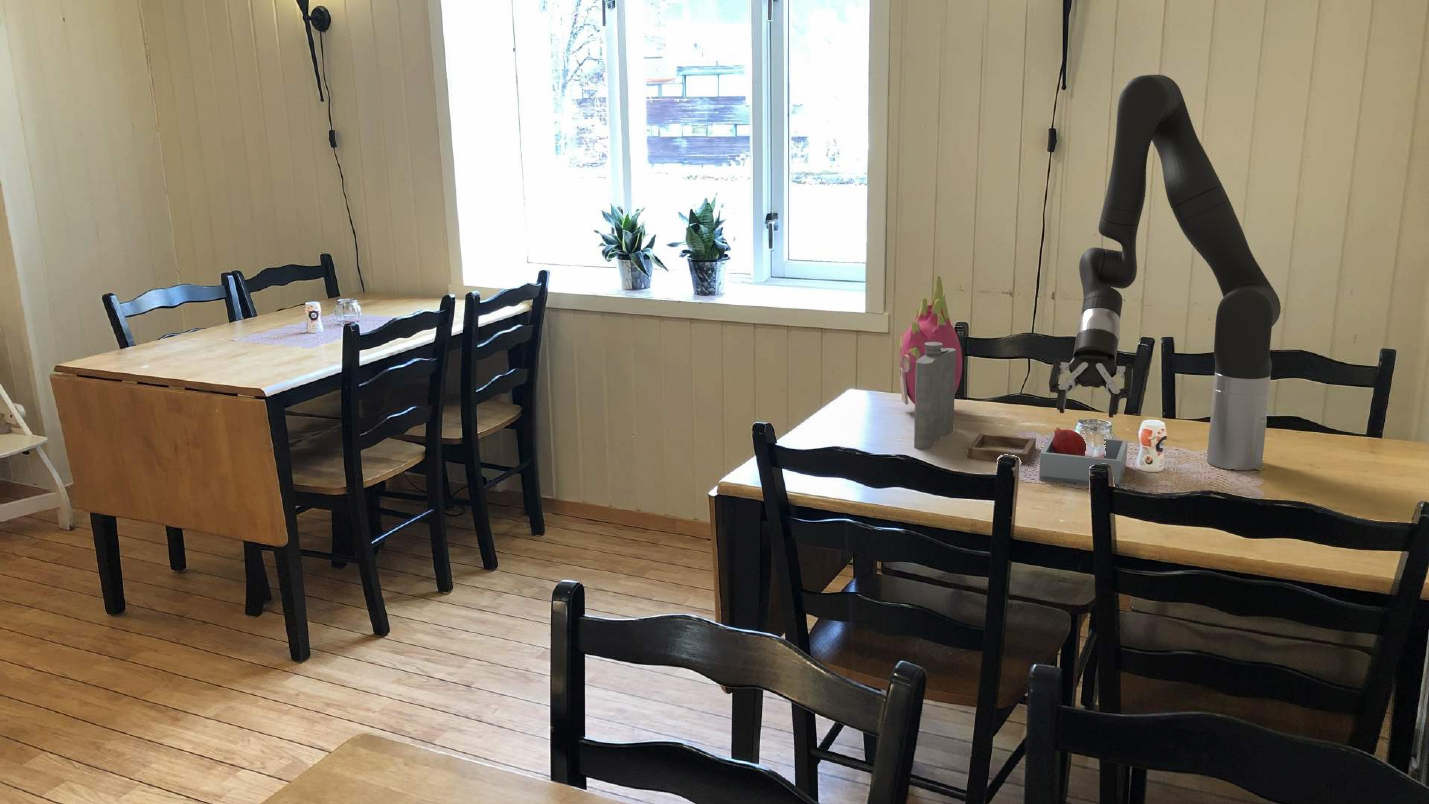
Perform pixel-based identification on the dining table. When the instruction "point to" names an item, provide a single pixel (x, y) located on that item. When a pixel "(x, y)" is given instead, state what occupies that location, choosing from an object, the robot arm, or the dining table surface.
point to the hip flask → (934, 394)
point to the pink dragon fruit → (927, 328)
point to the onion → (1068, 442)
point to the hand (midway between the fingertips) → (1086, 413)
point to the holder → (1001, 440)
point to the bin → (1081, 463)
